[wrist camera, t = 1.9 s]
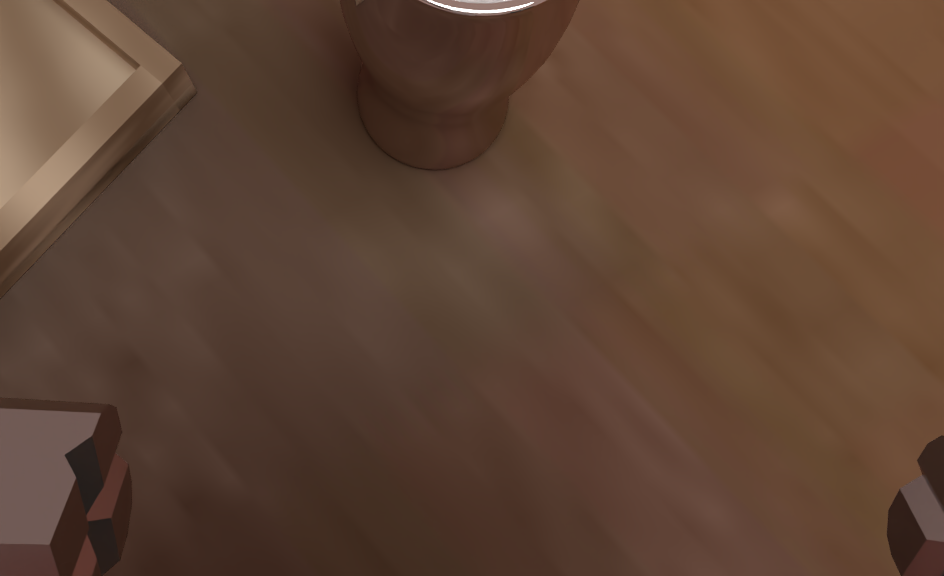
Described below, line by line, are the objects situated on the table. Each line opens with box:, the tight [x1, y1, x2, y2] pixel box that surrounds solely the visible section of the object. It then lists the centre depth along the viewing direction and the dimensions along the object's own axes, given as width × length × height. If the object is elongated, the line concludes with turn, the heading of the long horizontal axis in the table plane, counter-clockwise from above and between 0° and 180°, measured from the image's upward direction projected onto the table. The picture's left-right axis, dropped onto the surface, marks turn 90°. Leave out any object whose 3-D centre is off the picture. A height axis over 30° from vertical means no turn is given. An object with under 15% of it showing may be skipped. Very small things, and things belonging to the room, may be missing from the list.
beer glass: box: [340, 0, 580, 170], centre depth 29 cm, size 7×7×15 cm
